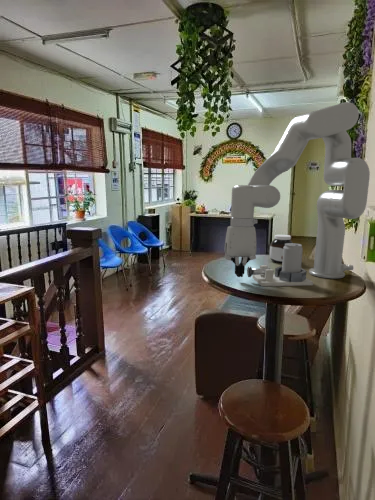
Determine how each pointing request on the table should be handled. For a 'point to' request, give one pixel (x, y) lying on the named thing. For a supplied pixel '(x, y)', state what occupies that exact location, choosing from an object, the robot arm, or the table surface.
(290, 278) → the socket
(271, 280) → the dock board
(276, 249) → the spread jar
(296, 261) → the beverage can
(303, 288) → the table surface
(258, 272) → the lock pin
